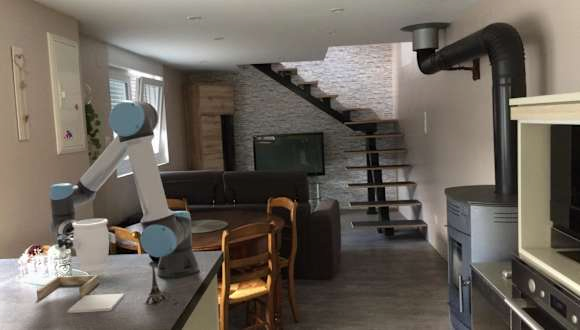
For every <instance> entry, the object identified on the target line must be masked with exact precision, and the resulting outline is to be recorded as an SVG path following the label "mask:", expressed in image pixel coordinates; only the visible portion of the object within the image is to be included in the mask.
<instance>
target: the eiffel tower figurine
mask: <svg viewBox="0 0 580 330" xmlns="http://www.w3.org/2000/svg"><path fill="white" fill-rule="evenodd" d="M151 267H152V268H151V269H152V284H151V289H150V293H149V295H143V296H138V297H136V300H137V299H143V298H147V299H146V301H145V303H144V305H151V306H153V305H155V306H160V305H161V304H163V303H164V302H166V301H173V303H172V304H171V305H172V306H179V305H180V303H179V301H177V300H176V299H175V298H174V297H172V295H170V294H169V293H162V291H161V290H160V287H159V286H158V282H157V279H156V271H155V265H154V264H152V265H151Z"/></svg>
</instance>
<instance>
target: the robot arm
mask: <svg viewBox="0 0 580 330" xmlns="http://www.w3.org/2000/svg"><path fill="white" fill-rule="evenodd" d="M108 115H109V116H108V123H109V126H110V129H111V130H112V132H113V133H115V134H116V136H115V138H114V139H113V140H111V142H110V143H109V145H108V146H107V147H106V148H105V149H104V151H102V153H101V154H100V155H99V156H98V158H97V159H95V161H94V162H93V163H92V165H91V166H90V167H89V168H88V169H87V170H86V171H85V173H84V174H83V175H82V176H81V177H80V178H79V180H78V181H77V182H76V183H75V184H74V185H73V184H72V183H69V182H66V183H65V182H64V183H55V184H52V185H50V187H49V199H50V210H51V222H50V223H49V224H50V225H49V229H50V231H51V234H53V235H54V237H56V239H57V245H58V248H59V249H61V248H63V247H65V248H64V249H65V250H70V248H71V249H73V250H74V251H75V250H79V241H77V240H75V239H74V230H75V228H74V227H73V226H72V223H74V222H77V221H78V220H77V219H76V210H75V209H76V208H77V207H78V206H79V207H80V206H81V205H86V204H89V203H90V202H92V201H93V200H95V197H96V195H97V192H98V191H99V189H100V188H101V187H102V186H103V185H104V184H105V182H107V180H108V179H109V178H110V176H111V175H112V174H113V173H114V172H115V171H116V169H117V168H118V167H119V166H120V165H121V164H122V163H123V161H125V160H126V158H127V157H128V160H129V163H130V167H131V172H132V175H133V178H134V183H135V187H136V190H137V194H138V198H139V201H140V202H139V203H140V206H141V211H142V214H143V216H142V218H141V220H140V225H141V228H142V232H141V234H140V239H139V240H140V245H141V247H142V249H143V250H144V251H145V253H146V254H148V255H149V254H150V255H151V256H154V257H160V260H159V261H158V263H157V265H158V266H157V275H158V276H160V277H161V278H179V277H180V278H181V277H182V278H183V277H186V276H187V277H188V276H190V275H193V274H197V272H199V269H200V267H199V262H198V259H197V257H196V254H195V253H194V250H193V235H192V233H193V231H192V218H191V213H190V212H189V211H187V210H176V211H175V210H171V209H170V208H169V205H168V202H167V197H166V194H165V190H164V187H163V181H162V178H161V174H160V171H159V167H158V162H157V158H156V154H155V151H154V147H153V143H152V141H153V140H154V138H155V133H154V131H155V129H156V128H157V126H158V124H159V114H158V111H157V109H156V108H155V107H154V106H153V105H152V104H151V103H149V102H146V101H136V100H130V99H129V100H125V101H124V100H123V101H121V102H117V103H116V104H115V105H114V106H113V107H112V109H111V110H110V112H109V114H108ZM108 232H109V243H112V244H116V243H117V242H116V241H117V240H116V238H117V237H116V230H115V229H112V228H108Z"/></svg>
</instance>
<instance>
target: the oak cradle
mask: <svg viewBox="0 0 580 330" xmlns="http://www.w3.org/2000/svg"><path fill="white" fill-rule="evenodd" d="M100 281H101V280H100V275H99V274H85V275H81V274H80V275H66V276H65V275H63V276H61V275H60V276H56V277H55V278H53V279H52V280H50V281H49V282H47V283H45V284H44V285H42V287H40V288H39V289H37V290H36V296H37V300H42V299H44V297H46V296H47V295H49V294H50V293H52V292H53V291H54V290H56V289H57V288H59V287H60V286H74V285H76V286H77V285H78V286H79V285H81V287H79V288H78V290H79V291H78V292H79V298H83V297H84V296H85V295H87V294H88V293H90V292H91V291H92V290H93V289H94V288H96V287H97V286H98V285H99V284H100Z"/></svg>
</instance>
